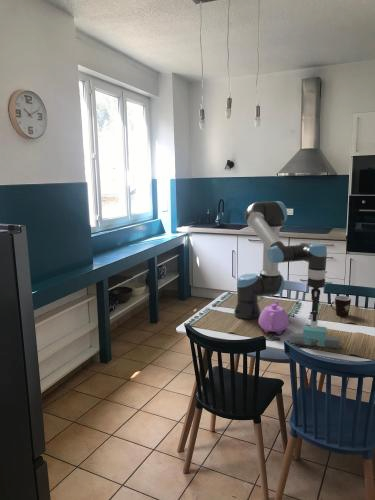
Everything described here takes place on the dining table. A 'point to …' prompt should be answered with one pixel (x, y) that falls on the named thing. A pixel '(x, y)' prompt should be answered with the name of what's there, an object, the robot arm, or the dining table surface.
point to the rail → (315, 341)
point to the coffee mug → (342, 305)
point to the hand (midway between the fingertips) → (314, 321)
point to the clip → (314, 334)
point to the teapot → (274, 318)
